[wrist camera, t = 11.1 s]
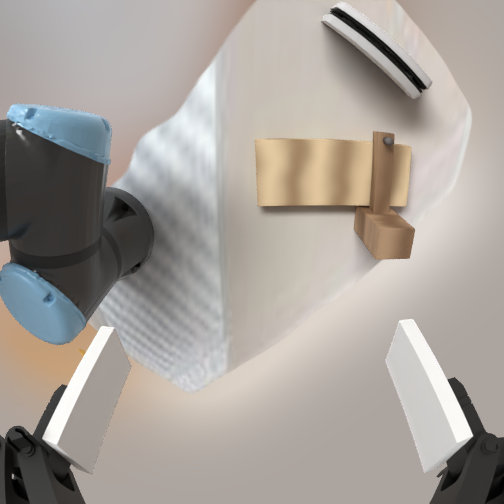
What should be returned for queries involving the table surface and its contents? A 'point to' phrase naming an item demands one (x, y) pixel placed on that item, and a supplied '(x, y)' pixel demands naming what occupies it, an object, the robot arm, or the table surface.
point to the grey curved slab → (378, 48)
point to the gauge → (383, 208)
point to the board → (323, 172)
